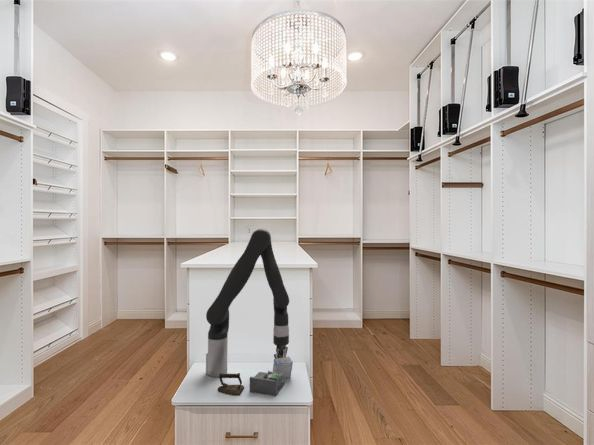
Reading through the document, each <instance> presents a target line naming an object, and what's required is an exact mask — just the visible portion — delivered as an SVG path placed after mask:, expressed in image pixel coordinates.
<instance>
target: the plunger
mask: <svg viewBox="0 0 594 445" xmlns="http://www.w3.org/2000/svg"><path fill="white" fill-rule="evenodd" d="M267 373H268V377H266V376H265V379H275V380H277V378H270V377H271V376H272V375H273V374H274V373H275V372H273V370H268V371H267Z"/></svg>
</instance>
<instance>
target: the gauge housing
mask: <svg viewBox="0 0 594 445" xmlns="http://www.w3.org/2000/svg"><path fill="white" fill-rule="evenodd" d="M282 374H283V373H277V372H275V373H274V374H273V375H272V376H271V377H270V378H277V380H275V379H265V376H266V377H268V372H264V371H258V373H257V374H255V375H254V376H250V377H249V393H255V394H259V395H265V396H266V395H267V396H272V397H276V396H278V394H279V393H280V392H281V390H282V389H283V388H284V387H285V385H286V383H285V382H284V381H283V379H282Z"/></svg>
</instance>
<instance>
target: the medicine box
mask: <svg viewBox="0 0 594 445" xmlns="http://www.w3.org/2000/svg"><path fill="white" fill-rule="evenodd" d="M293 363H294V361H293V360H292V358H291V357H290V356H286V357H283V358H277V359H275V358H274V359H273V364H272V371H273V372H277V373H283V374H282V380H284V379H289V378H291V376H292V371H293Z"/></svg>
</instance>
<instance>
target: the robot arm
mask: <svg viewBox="0 0 594 445" xmlns="http://www.w3.org/2000/svg"><path fill="white" fill-rule="evenodd" d="M259 258H261V260H262V265H263V270H264V274H265V277H266V280H267V284H268V287H269V288H270V290H271V293H272V296H273V298H272V300H273V302H272V304H273V335H272V336H273V342H272V343H273V345H275V346H276V348H275V353H274V354H273V357H274V359H277V358H283V357H287V354H288V349H289V347H288V346H287V345H289V344H290V327H289V313H288V306H289V305H290V297H289V294H288V292H287V289H286V287H285V284H284V280H283V277H282V275H281V271H280V269H279V267H278V264H277V261H276V257H275V254H274V250H273V245H272V236H271V234H270V232H269V230H267V229H264V228H258V229H256V230H254V231H253V232H252V234H251V236H250V238H249V241H248V243H247V245H246V247H245V249H244V251H243V253H242V255H241V256H240V258H238V259H237V261H236V262H235V264H234V266H233V267H232V269H231V271H230V272H229V273H228V276H227V277H226V280H225V281H224V282H223V283H224V284H223V285H222V287H221V289H220V291H219V293H218V295H217V297H216V298H215V299H214V301H213V302H212V303H211V305H210V307H208V309H207V310H206V313H205V318H206V321H207V323H208V324H210V326H209V330H208V333H207V353H205V375H207V376H209V377H213V378H217V377H218V378H219V374H220V373H222V374H228V345H229V344H228V335H229V328H230V306H231V305H232V303H233V302H234V300H235V299H236V298H237V296H238V295H239V294H240V293H241V292H242V290H243V289H244V287H245V286H246V284H247V282H248V281H249V279H250V277H251V275H252V273H253V272H254V269H255V266H256V264H257V261H258V259H259Z"/></svg>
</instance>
